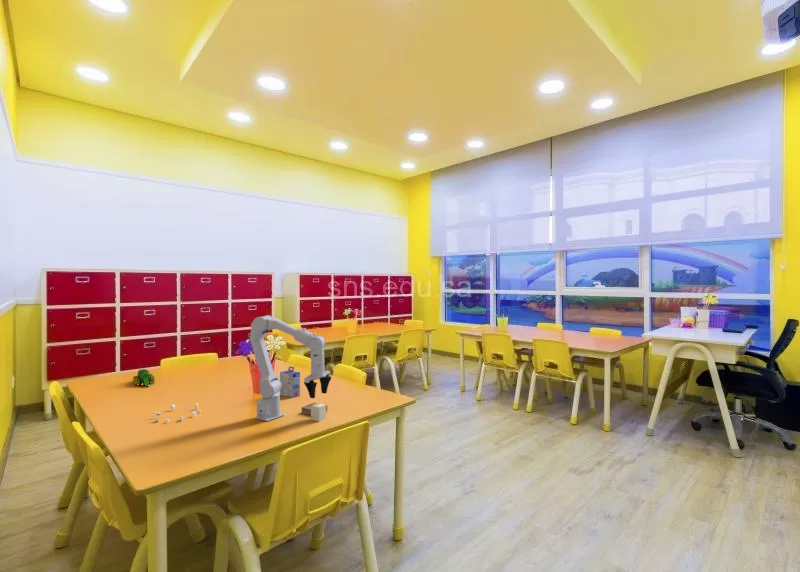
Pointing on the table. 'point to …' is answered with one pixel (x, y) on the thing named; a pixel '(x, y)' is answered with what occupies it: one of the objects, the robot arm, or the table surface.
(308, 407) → the walnut base
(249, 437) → the table surface
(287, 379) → the ink cartridge box
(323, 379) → the robot arm
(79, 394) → the table surface
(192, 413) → the game piece set
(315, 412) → the offwhite block
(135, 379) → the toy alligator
